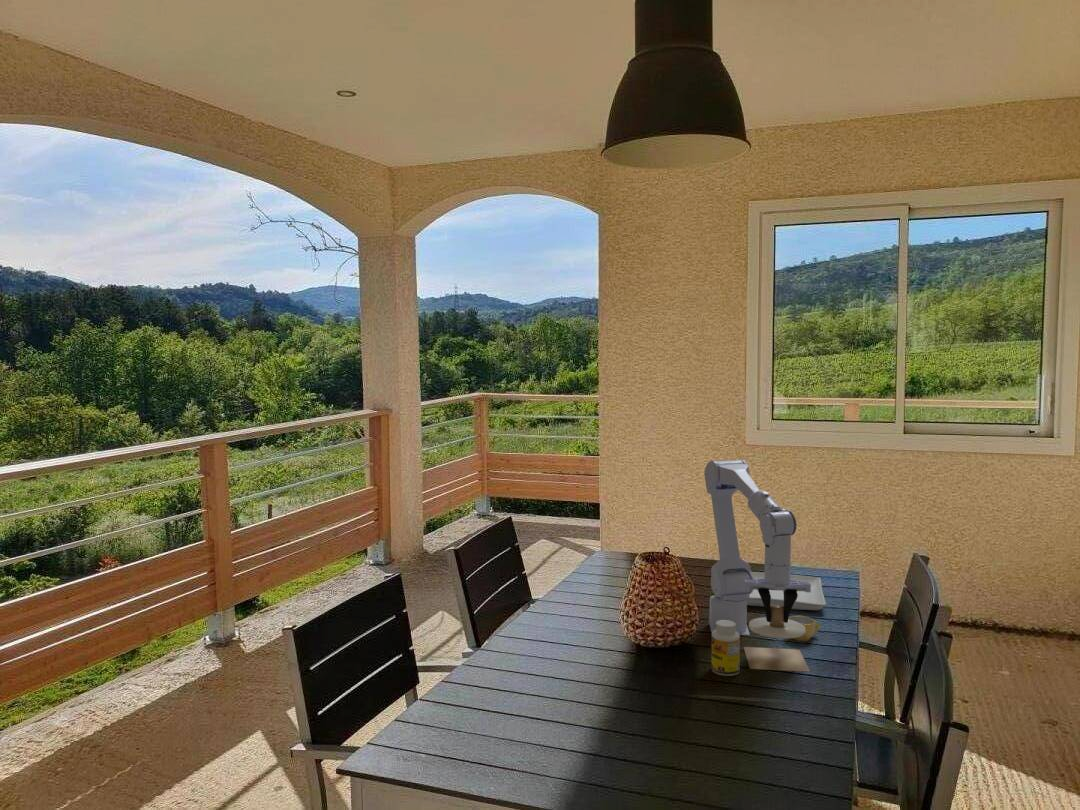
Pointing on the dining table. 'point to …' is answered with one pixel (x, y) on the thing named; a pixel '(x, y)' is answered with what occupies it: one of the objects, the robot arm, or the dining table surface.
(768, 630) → the lid
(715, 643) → the supplement bottle
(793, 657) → the mat
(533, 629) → the dining table surface
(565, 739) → the dining table surface
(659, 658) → the dining table surface
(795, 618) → the cup
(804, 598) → the square plate
